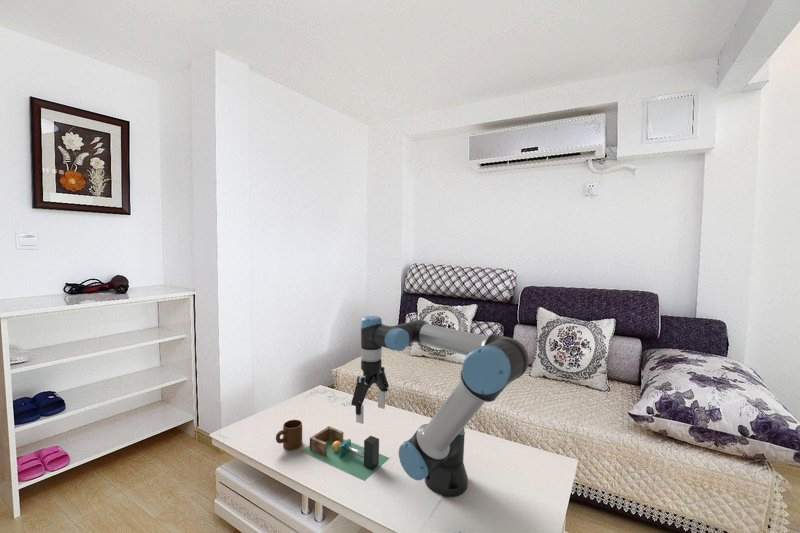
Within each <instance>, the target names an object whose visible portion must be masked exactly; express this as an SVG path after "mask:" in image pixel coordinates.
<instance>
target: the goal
mask: <svg viewBox="0 0 800 533" xmlns="http://www.w3.org/2000/svg"><path fill="white" fill-rule="evenodd" d="M343 439H344V431H343V430H339V429H336V428H335V427H333V426H327V427H325V428H324V429H322V430H320V431H319V432H317V433H315V434H314V435H312V436H310V437H309V445H310V450H311V451H313V452H315V453H318V454H320V455H322V456H324V457H325V456H326V455H327V443H326V441H328V440H331V441H333V442H335V441H340V442H341V443H343Z"/></svg>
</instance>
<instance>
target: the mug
mask: <svg viewBox="0 0 800 533" xmlns="http://www.w3.org/2000/svg"><path fill="white" fill-rule="evenodd" d="M281 436H282V438H281ZM275 441H276V443H278V444H282V447H283V449H284V450H286V451H294V450H297V449H299V448H301V447H302V445H303V423H302V421H301V420H299V419H291V420H287V421H286V422H284V423H283V426H282V429H281V430H279V431H278V432H277V433H276V435H275Z"/></svg>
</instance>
